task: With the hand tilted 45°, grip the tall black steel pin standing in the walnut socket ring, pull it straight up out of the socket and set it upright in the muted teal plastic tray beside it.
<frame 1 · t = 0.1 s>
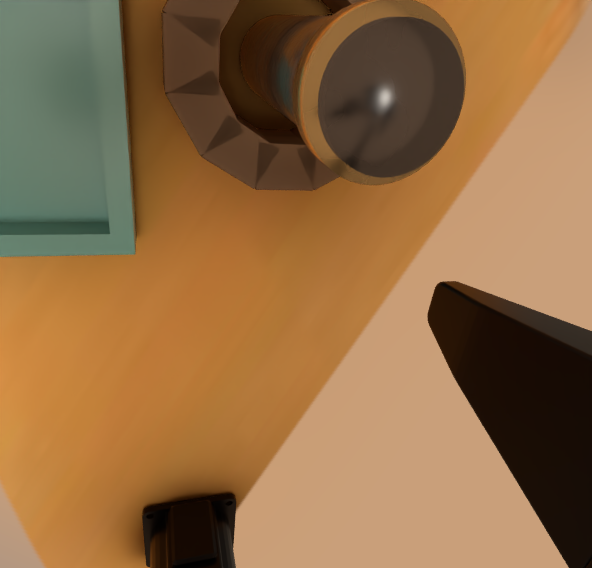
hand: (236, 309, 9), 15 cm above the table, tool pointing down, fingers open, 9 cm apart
socket: (278, 60, 21), on the table
steel pin: (318, 75, 16), in the socket
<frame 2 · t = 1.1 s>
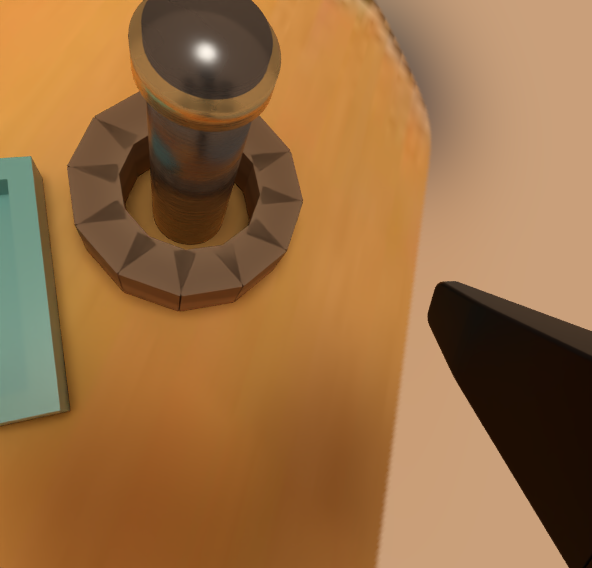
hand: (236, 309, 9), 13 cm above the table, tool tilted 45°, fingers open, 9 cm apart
socket: (189, 211, 24), on the table
steel pin: (196, 149, 18), in the socket
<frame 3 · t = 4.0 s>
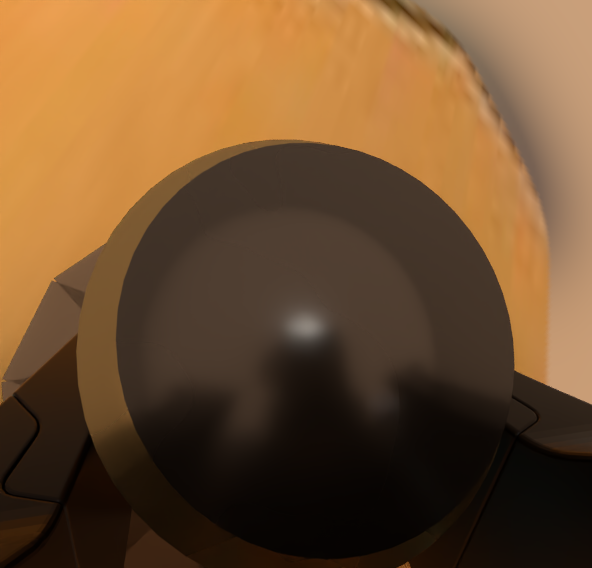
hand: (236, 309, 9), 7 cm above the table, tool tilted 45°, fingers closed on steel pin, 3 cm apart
socket: (211, 395, 15), on the table
steel pin: (236, 381, 10), in the socket, touching gripper
when the fingers open (8 cm above the table, at t = 8.3 s): steel pin drops 1 cm, resting on tray.
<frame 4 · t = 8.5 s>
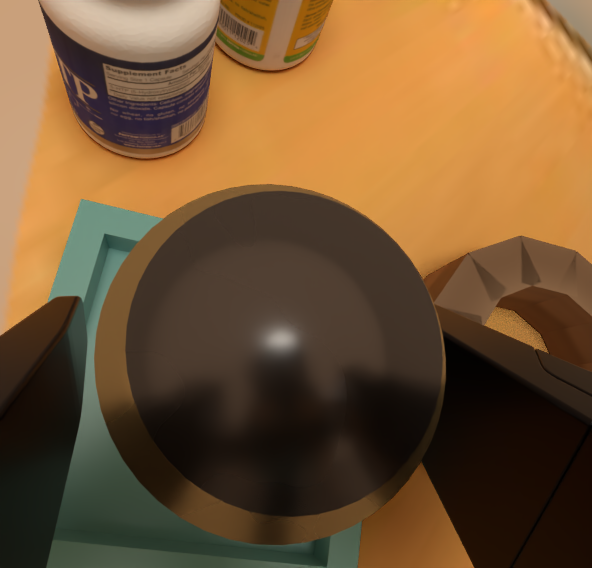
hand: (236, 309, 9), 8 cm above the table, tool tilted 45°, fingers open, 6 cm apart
tray: (207, 397, 17), on the table
socket: (498, 373, 20), on the table
steel pin: (229, 384, 11), in the tray, point 7 cm above the table
supplement bottle: (259, 28, 22), on the table
pill bottle: (141, 108, 19), on the table
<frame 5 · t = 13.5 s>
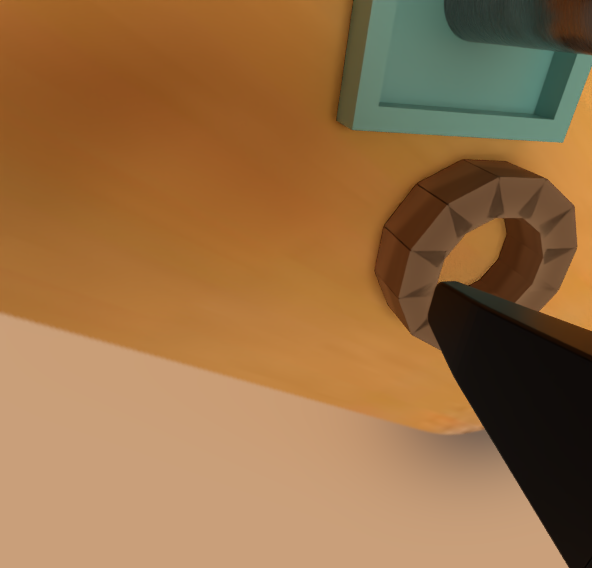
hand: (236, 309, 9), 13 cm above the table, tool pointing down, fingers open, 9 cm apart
socket: (458, 247, 27), on the table
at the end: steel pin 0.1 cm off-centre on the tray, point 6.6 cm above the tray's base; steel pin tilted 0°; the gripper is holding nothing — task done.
